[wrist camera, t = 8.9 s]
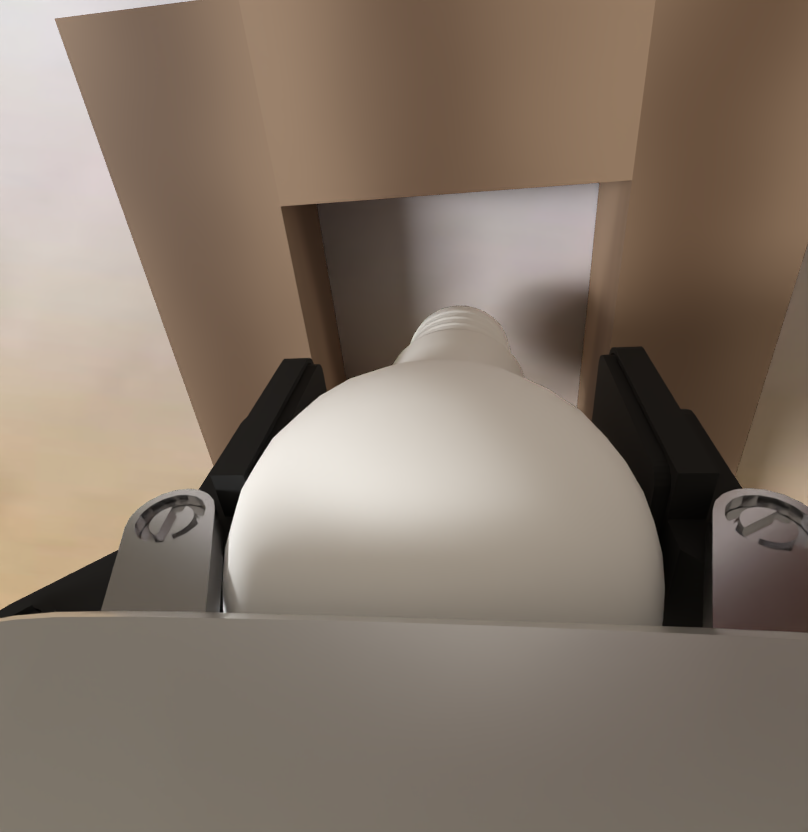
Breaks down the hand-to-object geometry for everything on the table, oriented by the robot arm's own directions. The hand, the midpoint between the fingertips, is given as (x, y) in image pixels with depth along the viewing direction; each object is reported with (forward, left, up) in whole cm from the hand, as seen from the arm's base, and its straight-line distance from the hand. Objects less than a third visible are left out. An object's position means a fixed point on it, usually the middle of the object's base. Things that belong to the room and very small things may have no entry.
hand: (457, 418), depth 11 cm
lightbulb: (0, 0, -4) cm, 4 cm away
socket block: (0, 0, -6) cm, 6 cm away
